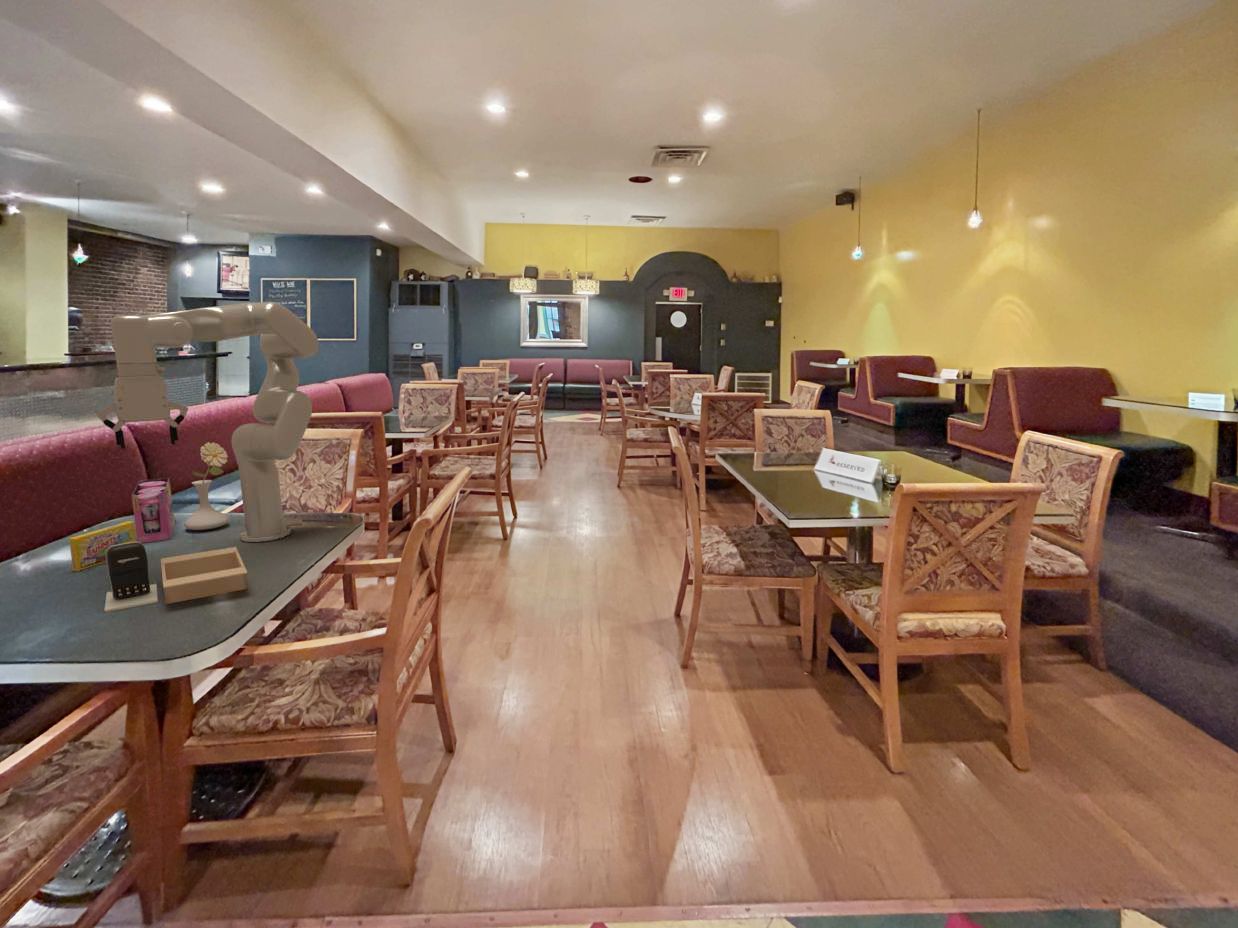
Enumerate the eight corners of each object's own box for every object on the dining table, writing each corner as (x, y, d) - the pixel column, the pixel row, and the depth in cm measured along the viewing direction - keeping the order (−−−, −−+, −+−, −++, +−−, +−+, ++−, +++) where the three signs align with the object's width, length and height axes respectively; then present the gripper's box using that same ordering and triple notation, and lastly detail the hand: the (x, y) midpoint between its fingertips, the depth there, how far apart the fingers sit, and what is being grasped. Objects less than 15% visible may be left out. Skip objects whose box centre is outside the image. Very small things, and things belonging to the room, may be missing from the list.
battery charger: (114, 602, 144) (105, 550, 142) (111, 597, 146) (103, 546, 144) (153, 593, 148) (146, 543, 146) (150, 589, 151) (143, 539, 149)
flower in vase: (191, 535, 194) (180, 448, 189) (179, 528, 201) (168, 443, 197) (241, 526, 203) (232, 442, 198) (227, 519, 211) (218, 438, 206)
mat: (156, 585, 155) (156, 583, 155) (157, 602, 145) (157, 600, 145) (107, 594, 150) (106, 592, 150) (104, 612, 140) (104, 610, 140)
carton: (238, 566, 167) (235, 546, 166) (249, 594, 149) (247, 572, 148) (163, 579, 159) (160, 558, 158) (166, 610, 141) (163, 587, 140)
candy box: (79, 572, 165) (74, 538, 163) (72, 571, 165) (66, 538, 164) (138, 551, 180) (134, 520, 179) (131, 550, 181) (127, 520, 179)
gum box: (171, 540, 189) (164, 492, 187) (136, 545, 185) (129, 496, 183) (175, 521, 210) (169, 477, 207) (144, 524, 206) (138, 480, 203)
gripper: (182, 369, 164) (191, 440, 167) (91, 372, 154) (102, 447, 157) (184, 370, 158) (193, 444, 161) (89, 373, 148) (101, 452, 151)
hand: (148, 445), depth 159 cm, fingers open, 9 cm apart
